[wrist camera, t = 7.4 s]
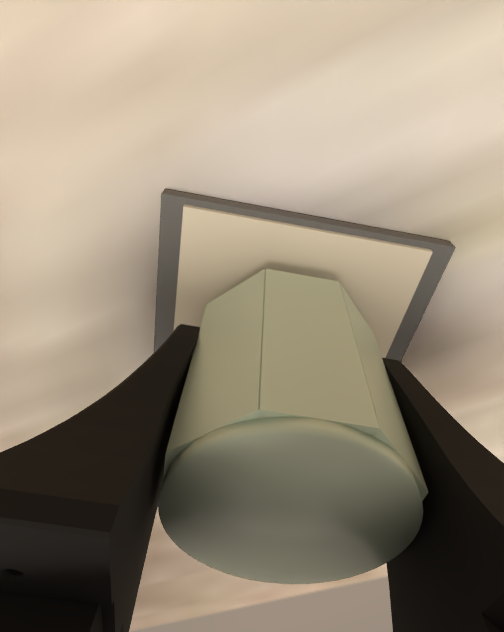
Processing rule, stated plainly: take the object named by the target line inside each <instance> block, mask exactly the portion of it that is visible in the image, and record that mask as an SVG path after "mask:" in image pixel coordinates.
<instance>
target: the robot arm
mask: <svg viewBox="0 0 504 632" xmlns="http://www.w3.org/2000/svg"><path fill="white" fill-rule="evenodd" d="M199 332H200V327H196V326H190V325H185V324H180V325H179V326H177V327H176V329H175V330H174V331H173V333H172V334H171V335H170V336H169V337H168V339H167V340H166V341H165V342H164V343H163V344H162V345H161V346H160V347H159V348H158V350H157V351H156V352H155V353H154V354H153V355H152V356H151V357H150V358H149V359H148V360H147V361H146V362H144V363H143V364H142V365H141V366H140V367H139V368H138V369H137V370H136V371H134V372H133V373H132V374H131V375H130V376H129V377H128V378H126V379H125V380H124V381H123V382H122V383H120V384H119V385H118V386H117V387H115V388H114V389H113V390H111V391H110V392H109V393H107V394H106V395H105V396H103V397H102V398H101V399H99V400H98V401H96V402H95V403H93V404H92V405H90V406H89V407H87V408H85V409H84V410H82V411H81V412H79V413H78V414H76V415H74V416H73V417H71V418H69V419H68V420H66V421H64V422H62V423H61V424H59V425H57V426H55V427H53V428H51V429H49V430H47V431H46V432H44V433H42V434H40V435H38V436H36V437H34V438H32V439H30V440H28V441H26V442H24V443H21V444H19V445H17V446H14V447H12V448H10V449H8V450H5V451H3V452H1V453H0V632H129V629H130V624H131V619H132V615H133V610H134V606H135V601H136V597H137V592H138V588H139V584H140V579H141V575H142V570H143V566H144V562H145V557H146V553H147V549H148V544H149V540H150V536H151V531H152V527H153V523H154V519H155V514H156V510H157V506H158V502H159V498H160V493H161V489H162V485H163V480H164V467H165V455H166V450H167V446H168V443H169V439H170V435H171V432H172V428H173V424H174V421H175V417H176V413H177V410H178V406H179V403H180V399H181V395H182V392H183V388H184V384H185V381H186V377H187V373H188V370H189V366H190V363H191V359H192V355H193V352H194V349H195V346H196V343H197V339H198V336H199ZM382 359H383V362H384V365H385V368H386V371H387V374H388V377H389V380H390V382H391V385H392V388H393V391H394V394H395V397H396V400H397V403H398V405H399V408H400V411H401V414H402V417H403V420H404V423H405V426H406V429H407V431H408V434H409V437H410V440H411V443H412V446H413V449H414V452H415V454H416V457H417V460H418V463H419V466H420V469H421V472H422V475H423V478H424V480H425V483H426V486H427V489H428V494H427V495H426V497H425V498H424V500H423V501H422V505H423V518H422V523H421V526H420V529H419V531H418V533H417V535H416V536H415V538H414V540H413V541H412V542H411V543H410V544H409V545H408V547H407V548H406V549H405V550H403V551H402V552H401V553H400V554H399V555H397V556H396V557H395V558H393V559H391V560H390V561H388V562H387V570H388V579H389V587H390V588H389V589H390V599H391V612H392V623H393V632H504V463H503V462H501V461H500V460H499V459H498V458H497V457H496V456H494V455H493V454H492V453H491V452H490V451H488V450H487V449H486V448H485V447H484V446H483V445H481V444H480V443H479V442H478V441H477V440H476V439H475V438H474V437H473V436H472V435H470V434H469V433H468V432H467V431H466V430H465V429H464V428H463V427H462V426H461V425H460V424H459V423H458V422H457V421H456V420H455V419H454V418H453V417H452V416H451V415H450V414H449V413H448V412H447V411H446V410H445V409H444V408H443V407H442V406H441V405H440V404H439V403H438V402H437V401H436V400H435V398H434V397H433V396H432V395H431V394H430V393H429V392H428V391H427V390H426V389H425V388H424V387H423V385H422V384H421V383H420V382H419V381H418V380H417V379H416V378H415V377H414V376H413V375H412V374H411V372H410V371H409V370H408V369H407V368H406V367H405V366H404V365H403V364H402V363H401V362H400V361H399V360H393V359H387V358H382Z"/></svg>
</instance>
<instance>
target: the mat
mask: <svg viewBox="0 0 504 632" xmlns="http://www.w3.org/2000/svg"><path fill="white" fill-rule="evenodd" d="M454 250H455V246H454V245H453V244H452V243H451V242H450V241H446V240H441V239H435V238H430V237H424V236H419V235H414V234H408V233H403V232H397V231H392V230H386V229H381V228H376V227H370V226H365V225H359V224H354V223H348V222H343V221H338V220H332V219H327V218H321V217H316V216H311V215H305V214H300V213H294V212H289V211H283V210H278V209H273V208H267V207H262V206H256V205H251V204H245V203H240V202H235V201H229V200H224V199H218V198H213V197H208V196H202V195H197V194H191V193H186V192H180V191H175V190H170V189H165V190H164V191H163V192H162V194H161V215H160V235H159V256H158V277H157V298H156V318H155V339H154V353H155V352H156V351H157V350H158V348H159V347H160V346H161V345H162V344H163V343H164V342H165V341H166V340H167V339H168V337H169V336H170V335H171V334H172V333H173V331H174V330H175V329H176V327H177V326H179V325H180V324H185V325H190V326H196V327H200V326H201V323H202V319H203V315H204V312H205V308H206V305H207V304H208V303H209V302H211V301H213V300H214V299H216V298H218V297H219V296H221V295H223V294H224V293H226V292H228V291H229V290H231V289H232V288H234V287H236V286H237V285H239V284H241V283H242V282H244V281H246V280H247V279H249V278H251V277H252V276H254V275H255V274H257V273H259V272H260V271H262V270H264V269H265V270H266V269H271V270H277V271H283V272H288V273H294V274H300V275H305V276H311V277H317V278H322V279H328V280H334V281H339V282H340V283H341V285H342V286H343V288H344V289H345V291H346V292H347V294H348V295H349V297H350V298H351V300H352V301H353V303H354V304H355V306H356V307H357V309H358V310H359V312H360V313H361V315H362V316H363V318H364V319H365V321H366V322H367V324H368V325H369V327H370V328H371V330H372V331H373V333H374V336H375V339H376V342H377V345H378V348H379V351H380V354H381V356H382V358H387V359H393V360H399V361H400V362H401V360H402V358H403V356H404V354H405V352H406V349H407V347H408V345H409V343H410V341H411V339H412V337H413V335H414V333H415V331H416V329H417V327H418V325H419V322H420V320H421V318H422V316H423V314H424V312H425V310H426V308H427V306H428V304H429V302H430V300H431V297H432V295H433V293H434V291H435V289H436V287H437V285H438V283H439V281H440V279H441V277H442V275H443V272H444V270H445V268H446V266H447V264H448V262H449V260H450V258H451V256H452V254H453V252H454ZM158 503H159V502H158ZM157 507H159V505H158V506H157Z"/></svg>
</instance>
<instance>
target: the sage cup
mask: <svg viewBox="0 0 504 632" xmlns="http://www.w3.org/2000/svg"><path fill="white" fill-rule="evenodd" d="M427 494H428V489H427V486H426V483H425V480H424V478H423V475H422V472H421V469H420V466H419V463H418V460H417V457H416V454H415V452H414V449H413V446H412V443H411V440H410V437H409V434H408V431H407V429H406V426H405V423H404V420H403V417H402V414H401V411H400V408H399V405H398V403H397V400H396V397H395V394H394V391H393V388H392V385H391V382H390V380H389V377H388V374H387V371H386V368H385V365H384V362H383V359H382V356H381V354H380V351H379V348H378V345H377V342H376V339H375V336H374V333H373V331H372V330H371V328H370V327H369V325H368V324H367V322H366V321H365V319H364V318H363V316H362V315H361V313H360V312H359V310H358V309H357V307H356V306H355V304H354V303H353V301H352V300H351V298H350V297H349V295H348V294H347V292H346V291H345V289H344V288H343V286H342V285H341V283H340V282H339V281H334V280H328V279H322V278H317V277H311V276H305V275H300V274H294V273H288V272H283V271H277V270H271V269H266V270H265V269H264V270H262V271H260V272H259V273H257V274H255V275H254V276H252V277H251V278H249V279H247V280H246V281H244V282H242V283H241V284H239V285H237V286H236V287H234V288H232V289H231V290H229V291H228V292H226V293H224V294H223V295H221V296H219V297H218V298H216V299H214V300H213V301H211V302H209V303H208V304H207V305H206V308H205V312H204V315H203V319H202V323H201V326H200V332H199V336H198V339H197V343H196V346H195V349H194V352H193V355H192V359H191V363H190V366H189V370H188V373H187V377H186V381H185V384H184V388H183V392H182V395H181V399H180V403H179V406H178V410H177V413H176V417H175V421H174V424H173V428H172V432H171V435H170V439H169V443H168V446H167V450H166V455H165V467H164V480H163V485H162V489H161V493H160V498H159V503H158V505H159V516H160V519H161V523H162V525H163V527H164V529H165V531H166V533H167V534H168V535H169V537H170V538H171V539H172V541H173V542H174V543H175V544H176V545H177V546H178V547H179V548H181V549H182V550H183V551H184V552H186V553H187V554H188V555H190V556H191V557H193V558H194V559H196V560H198V561H199V562H201V563H203V564H205V565H207V566H209V567H211V568H214V569H216V570H219V571H221V572H224V573H227V574H230V575H233V576H237V577H241V578H245V579H249V580H255V581H261V582H269V583H278V584H311V583H322V582H329V581H336V580H340V579H345V578H349V577H353V576H356V575H359V574H362V573H365V572H368V571H370V570H373V569H375V568H377V567H379V566H381V565H383V564H385V563H387V562H388V561H390V560H391V559H393V558H395V557H396V556H397V555H399V554H400V553H401V552H402V551H403V550H405V549H406V548H407V547H408V545H409V544H410V543H411V542H412V541H413V540H414V538H415V536H416V535H417V533H418V531H419V529H420V526H421V523H422V518H423V505H422V501H423V500H424V498H425V497H426V495H427Z"/></svg>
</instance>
